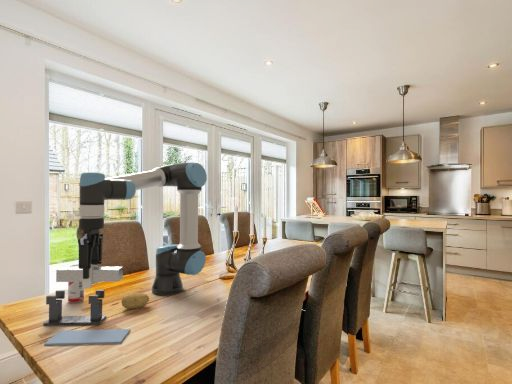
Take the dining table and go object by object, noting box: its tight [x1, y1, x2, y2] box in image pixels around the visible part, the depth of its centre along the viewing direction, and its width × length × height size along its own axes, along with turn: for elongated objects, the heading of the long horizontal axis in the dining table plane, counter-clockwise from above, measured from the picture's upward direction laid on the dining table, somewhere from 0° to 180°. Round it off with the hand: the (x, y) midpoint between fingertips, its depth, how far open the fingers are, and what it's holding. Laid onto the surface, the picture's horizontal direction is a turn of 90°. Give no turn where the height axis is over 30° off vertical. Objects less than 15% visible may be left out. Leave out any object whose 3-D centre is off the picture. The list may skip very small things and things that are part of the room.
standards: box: [42, 289, 107, 327], centre depth 112 cm, size 20×7×11 cm, turn 95°
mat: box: [43, 328, 131, 346], centre depth 100 cm, size 24×9×1 cm, turn 95°
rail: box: [55, 266, 124, 283], centre depth 100 cm, size 20×4×4 cm, turn 95°
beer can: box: [67, 264, 85, 304], centre depth 133 cm, size 6×6×16 cm
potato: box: [120, 292, 150, 310], centre depth 127 cm, size 7×11×6 cm, turn 107°
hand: (90, 285), depth 100 cm, fingers closed on rail, 4 cm apart
